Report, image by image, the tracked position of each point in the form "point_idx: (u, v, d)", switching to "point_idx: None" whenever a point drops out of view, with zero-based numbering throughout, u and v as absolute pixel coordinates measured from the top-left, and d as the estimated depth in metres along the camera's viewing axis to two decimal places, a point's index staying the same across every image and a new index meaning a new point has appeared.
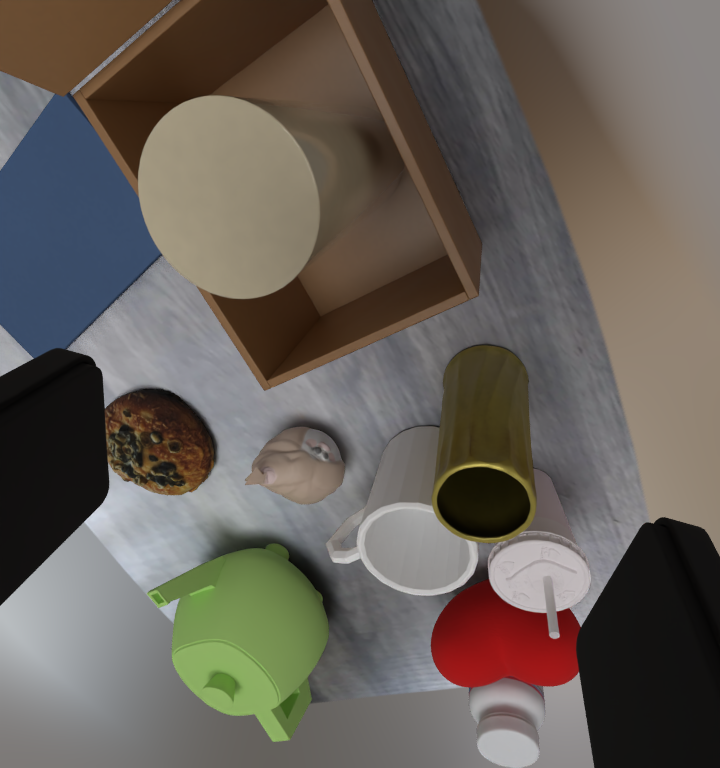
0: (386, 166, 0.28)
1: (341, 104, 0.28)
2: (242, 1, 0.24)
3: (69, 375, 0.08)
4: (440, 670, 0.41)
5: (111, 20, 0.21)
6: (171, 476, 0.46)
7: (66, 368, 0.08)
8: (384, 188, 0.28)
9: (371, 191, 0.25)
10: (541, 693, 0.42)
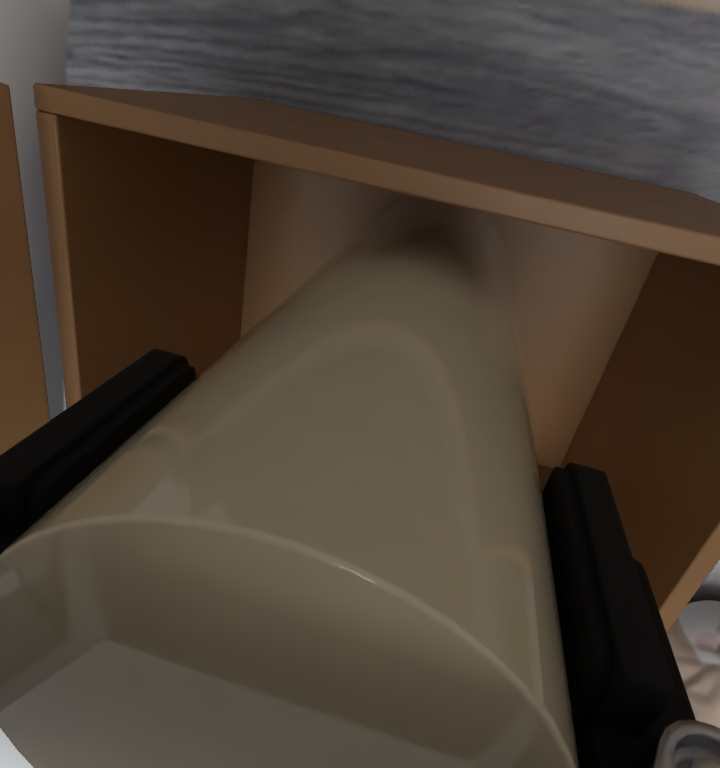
0: (478, 246, 0.15)
1: None
2: (138, 261, 0.15)
3: (172, 374, 0.09)
4: None
5: (4, 451, 0.13)
6: None
7: (167, 368, 0.09)
8: (504, 275, 0.15)
9: (500, 310, 0.12)
10: None
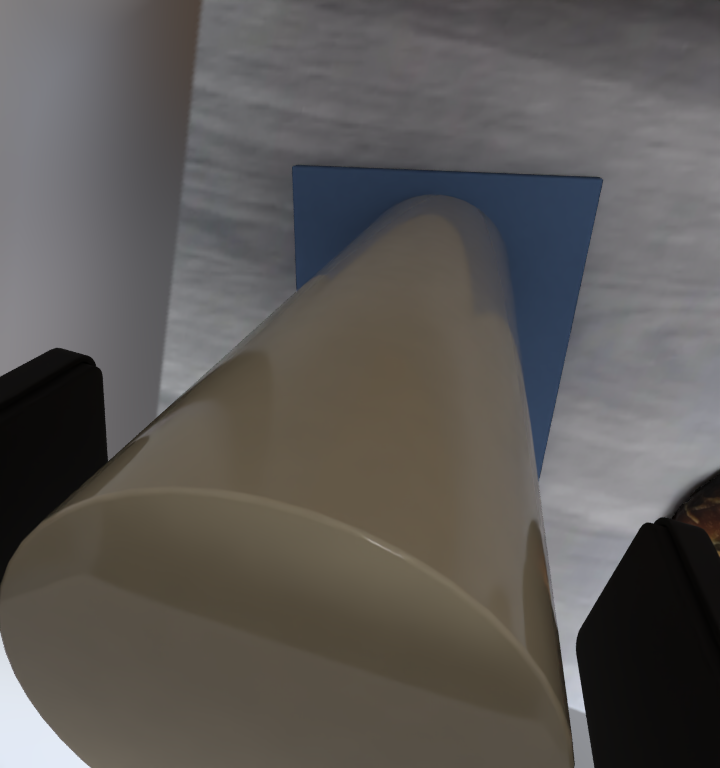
0: (478, 246, 0.15)
1: None
2: None
3: (69, 375, 0.08)
4: None
5: None
6: None
7: (65, 369, 0.08)
8: (503, 274, 0.15)
9: (499, 308, 0.12)
10: None
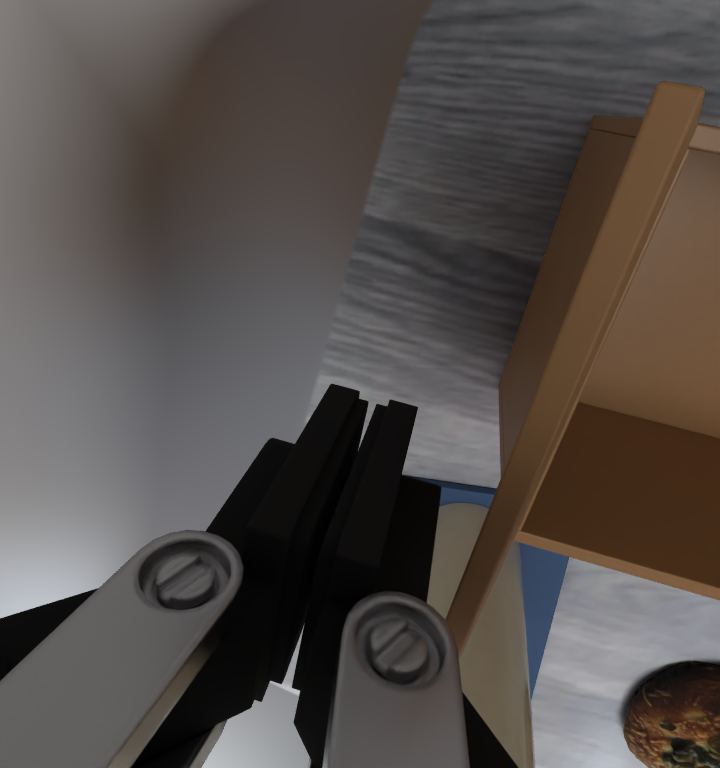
0: (504, 604, 0.25)
1: None
2: None
3: (356, 411, 0.09)
4: None
5: None
6: None
7: (349, 404, 0.09)
8: (518, 616, 0.26)
9: (518, 690, 0.22)
10: None
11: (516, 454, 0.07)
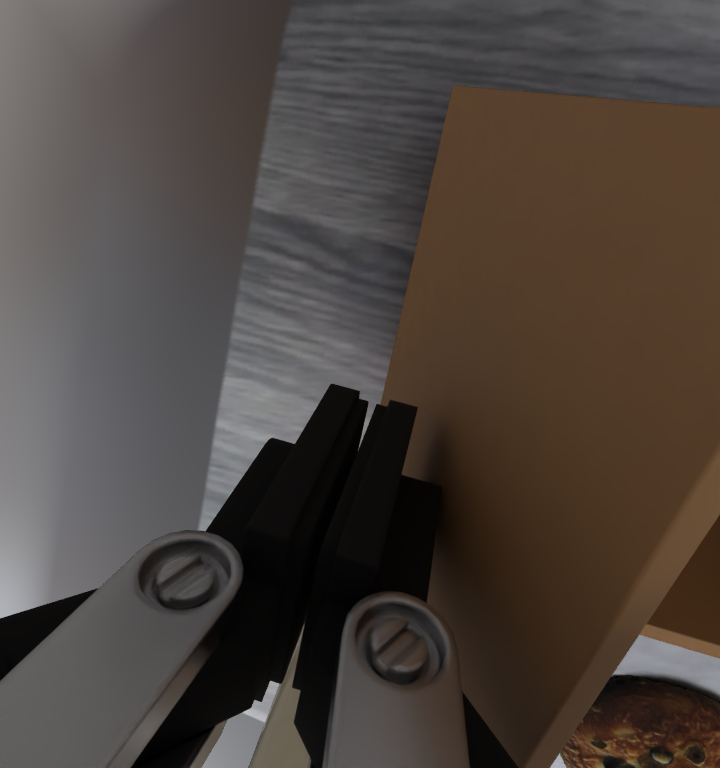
0: None
1: None
2: None
3: (356, 411, 0.09)
4: None
5: None
6: None
7: (349, 404, 0.09)
8: None
9: None
10: None
11: (621, 624, 0.05)
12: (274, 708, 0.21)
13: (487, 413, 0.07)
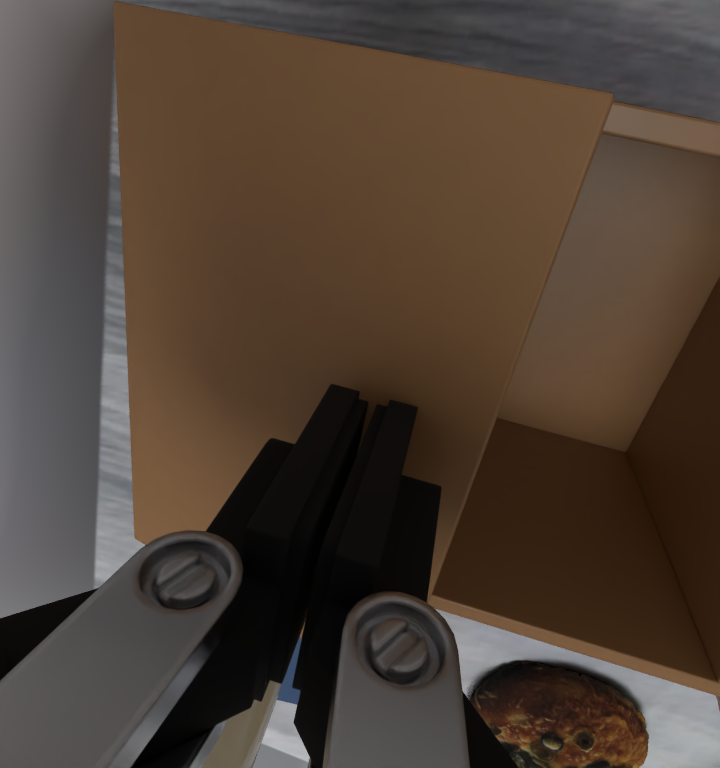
0: None
1: None
2: None
3: (356, 411, 0.09)
4: None
5: None
6: None
7: (349, 404, 0.09)
8: None
9: None
10: None
11: None
12: None
13: (333, 310, 0.09)
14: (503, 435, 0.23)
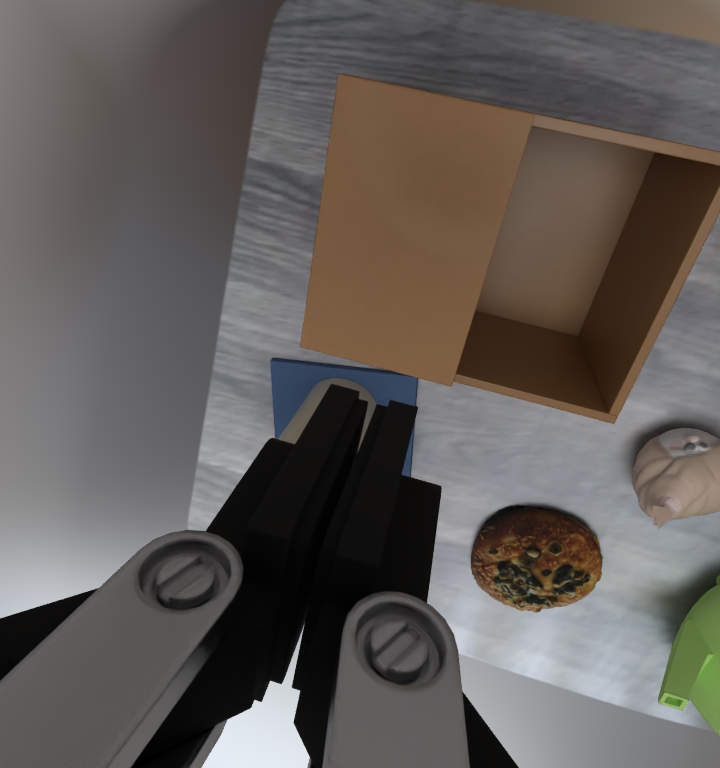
0: None
1: (295, 415, 0.39)
2: None
3: (356, 411, 0.09)
4: None
5: None
6: (574, 577, 0.43)
7: (349, 404, 0.09)
8: None
9: None
10: None
11: None
12: None
13: (432, 198, 0.24)
14: (499, 323, 0.36)
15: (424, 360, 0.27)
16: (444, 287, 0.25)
